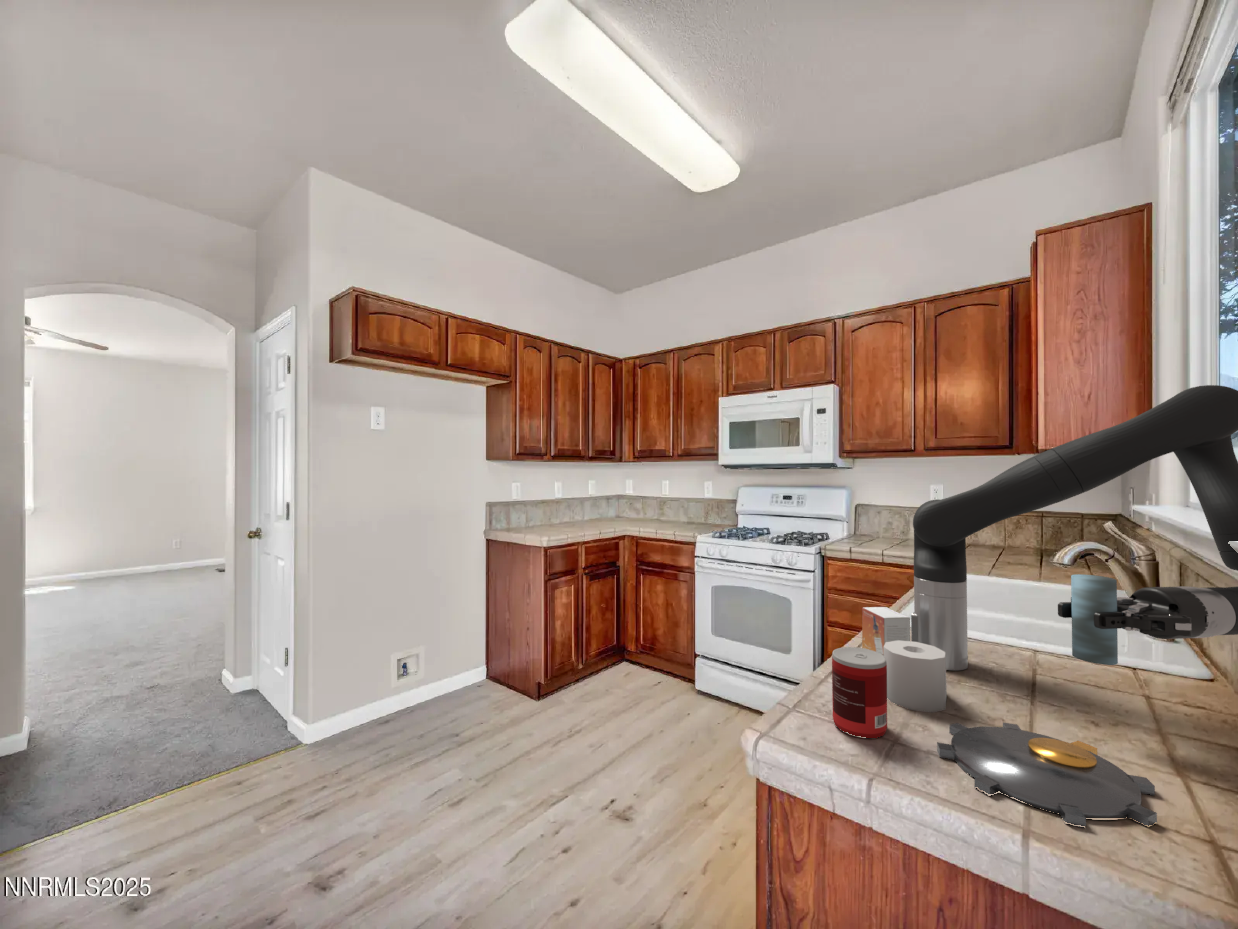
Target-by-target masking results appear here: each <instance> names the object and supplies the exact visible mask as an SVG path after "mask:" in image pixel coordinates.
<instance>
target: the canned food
mask: <svg viewBox="0 0 1238 929" xmlns="http://www.w3.org/2000/svg"><path fill="white" fill-rule="evenodd" d="M831 682H832V684H831V687H832V688H831V690H832V693H831V694H832V696H831V697H832V698H831V699H832V701H831V702H832V720H833V723H835V724H834V725H836V726H837V727H838V728H839V729H841V730H842V731H844V732H848V733H849V734H852V735H855V736H861V737H866V738H876V739H878V738H877V737H879V738H881V737H880V736H882V737H883V736H884V735H885V734H886V732H887V729H888V699H887V662H886V658H885V657H884V656H883V655H882V654H880V653H878V652H875V651H872V650H869V649H864V648H862V647H858V646H857V647H856V646H846V647H845V646H843V647H839V648H835V649H834V650H833V651H832V654H831ZM836 726H835V727H836ZM837 727H836V728H837ZM838 728H837V729H838ZM839 729H838V730H839ZM841 730H840V731H841ZM842 731H841V732H842ZM844 732H843V733H844Z"/></svg>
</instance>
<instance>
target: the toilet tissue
mask: <svg viewBox="0 0 1238 929" xmlns="http://www.w3.org/2000/svg"><path fill="white" fill-rule="evenodd" d="M884 657H885V658H886V662H887V698H888V699H889V700H890V701H889V700H888V699H887V700H888V701H889V702H891V703H892V702H893V703H895V704H897V705H896V706H898V705H900V706H899V707H901V706H903V707H902V708H904V707H905V709H907V708H908V709H907V710H910V711H917V712H925V713H936V712H942V711H945V710H946V707H947V698H948V696H947V695H948V694H947V691H948V690H947V670H946V656H945V652H944V651H942V650H940V649H939V648H937V647H935V646H931V645H927V644H923V643H919V642H912V641H911V640H910V641H900V640H898V641H891V642H886V643H885V645H884ZM893 703H892V704H893ZM895 704H894V705H895Z"/></svg>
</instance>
